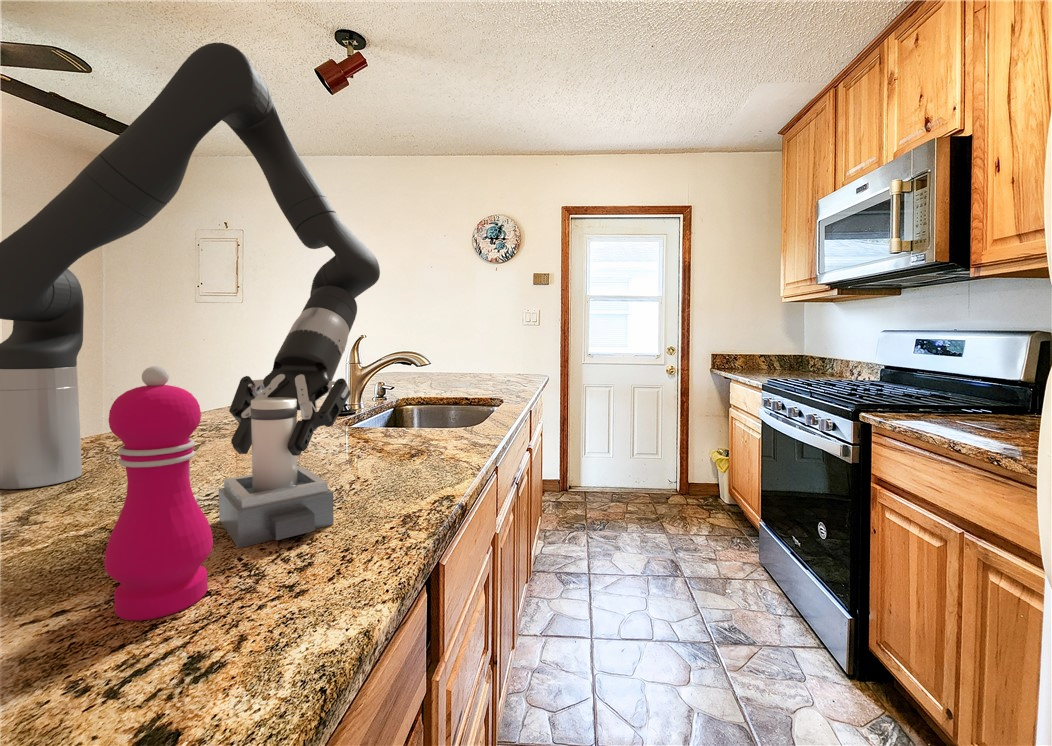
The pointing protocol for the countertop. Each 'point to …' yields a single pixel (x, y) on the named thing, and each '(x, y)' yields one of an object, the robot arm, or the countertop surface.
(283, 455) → the white banded cylinder
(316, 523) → the block
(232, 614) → the countertop surface
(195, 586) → the pepper mill
